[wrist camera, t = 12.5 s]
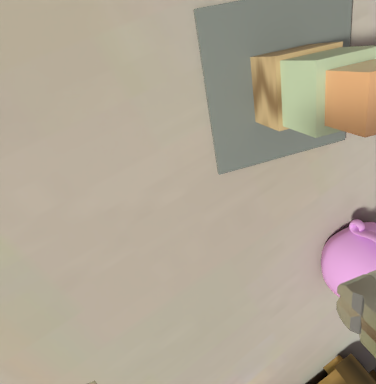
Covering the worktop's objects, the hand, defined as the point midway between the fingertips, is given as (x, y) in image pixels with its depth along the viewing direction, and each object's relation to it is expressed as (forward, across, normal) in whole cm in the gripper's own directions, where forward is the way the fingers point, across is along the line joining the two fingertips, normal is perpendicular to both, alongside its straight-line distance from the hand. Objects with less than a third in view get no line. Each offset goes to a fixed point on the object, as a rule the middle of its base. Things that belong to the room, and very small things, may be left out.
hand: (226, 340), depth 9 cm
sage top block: (+24, -20, -1) cm, 31 cm away
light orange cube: (+18, -20, -1) cm, 27 cm away
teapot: (+30, -32, +32) cm, 54 cm away
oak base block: (+30, -20, -1) cm, 36 cm away
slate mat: (+31, -20, -1) cm, 37 cm away
